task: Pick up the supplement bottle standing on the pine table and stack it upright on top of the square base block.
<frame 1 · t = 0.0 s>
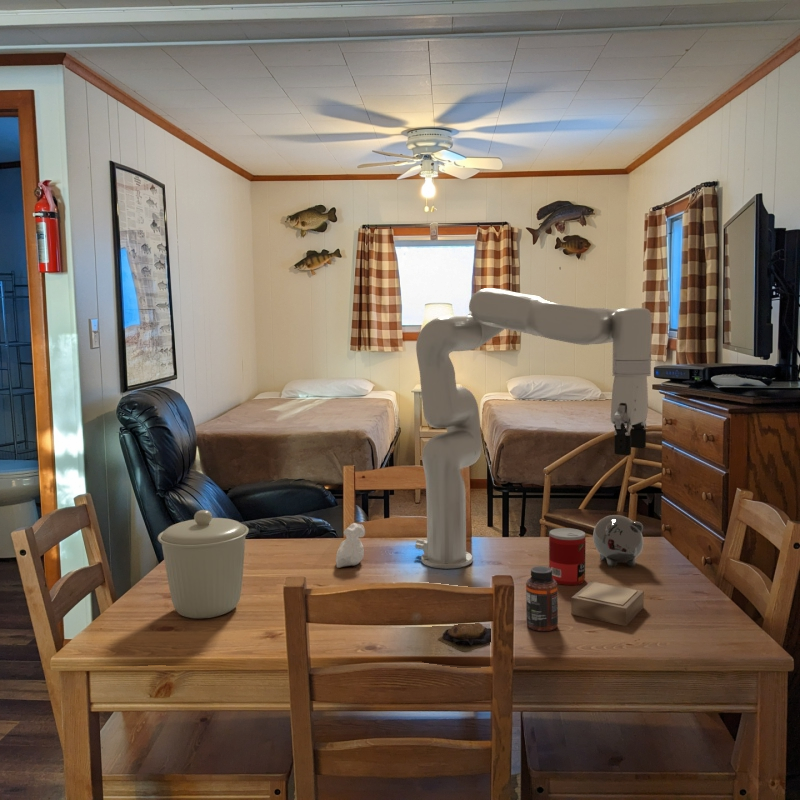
hand: (630, 451, 154), 31 cm above the table, tool pointing down, fingers open, 9 cm apart
piggy bank: (618, 564, 179), on the table
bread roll: (470, 641, 139), on the table
supplement bottle: (541, 627, 143), on the table
bust: (350, 564, 183), on the table
canister: (207, 610, 155), on the table
canned food: (567, 580, 169), on the table
base: (607, 610, 150), on the table
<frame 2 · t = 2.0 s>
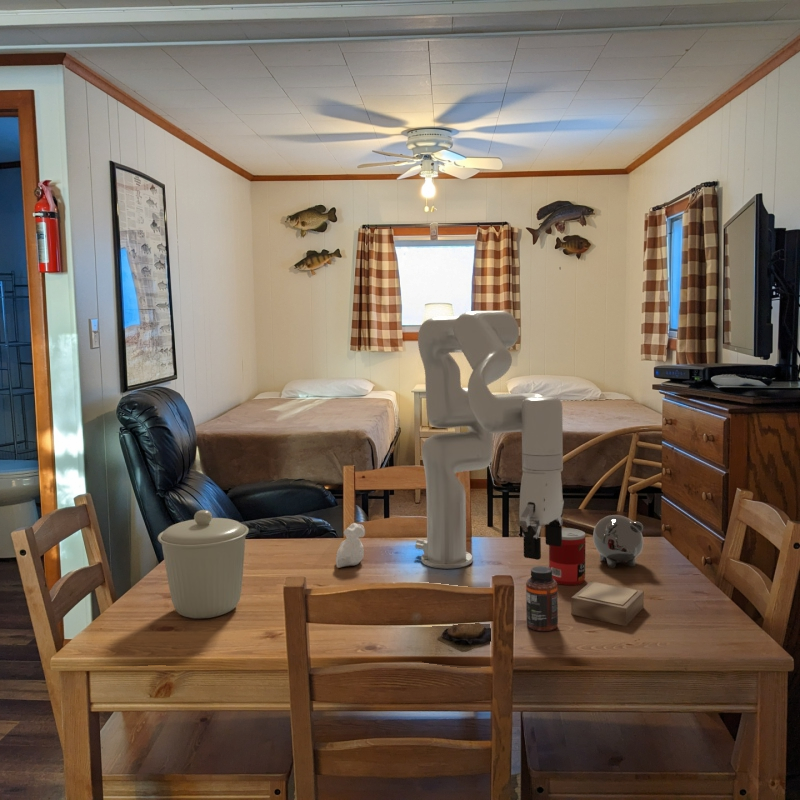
hand: (543, 551, 141), 15 cm above the table, tool pointing down, fingers open, 9 cm apart
nothing on the table moved.
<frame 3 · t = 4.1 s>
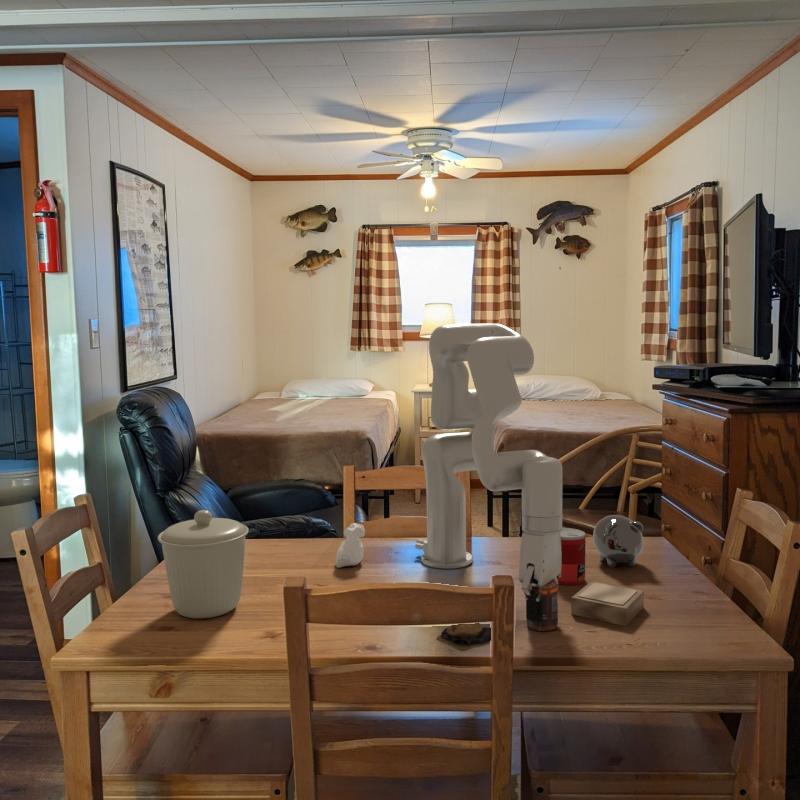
hand: (542, 613, 143), 3 cm above the table, tool pointing down, fingers closed on supplement bottle, 6 cm apart
supplement bottle: (542, 627, 143), on the table, touching gripper
everything else where it was.
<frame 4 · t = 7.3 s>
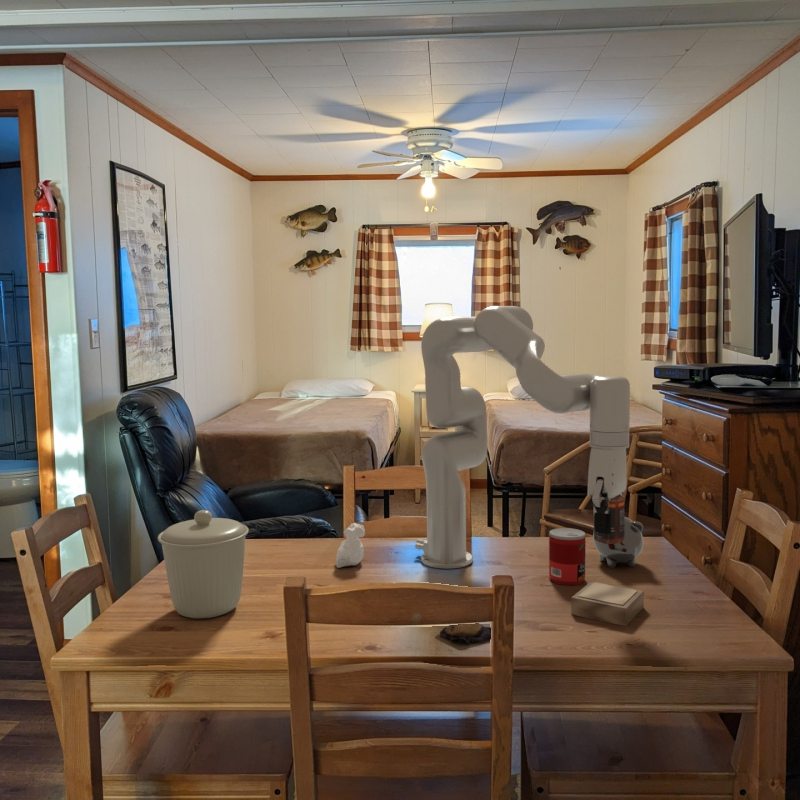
hand: (608, 527, 148), 17 cm above the table, tool pointing down, fingers closed on supplement bottle, 6 cm apart
supplement bottle: (608, 541, 149), point 14 cm above the table, touching gripper
everything else where it was.
when the fingers open (7 cm above the table, at t = 9.8 s): supplement bottle drops 1 cm, resting on base.
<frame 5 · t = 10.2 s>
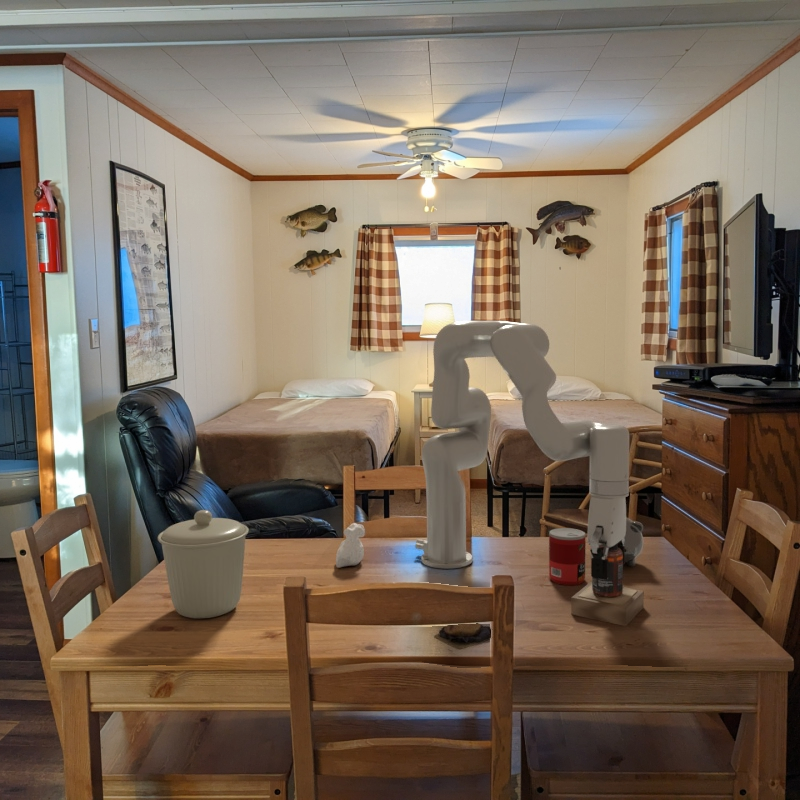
hand: (608, 571, 149), 8 cm above the table, tool pointing down, fingers open, 9 cm apart
supplement bottle: (607, 594, 150), point 4 cm above the table, touching base
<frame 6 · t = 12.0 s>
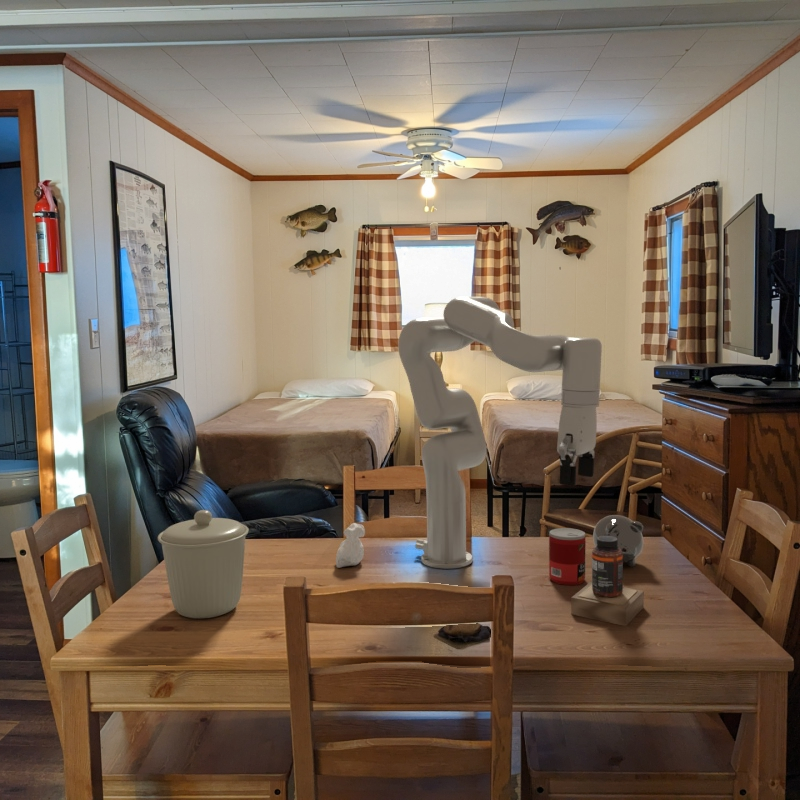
hand: (576, 480, 154), 25 cm above the table, tool pointing down, fingers open, 9 cm apart
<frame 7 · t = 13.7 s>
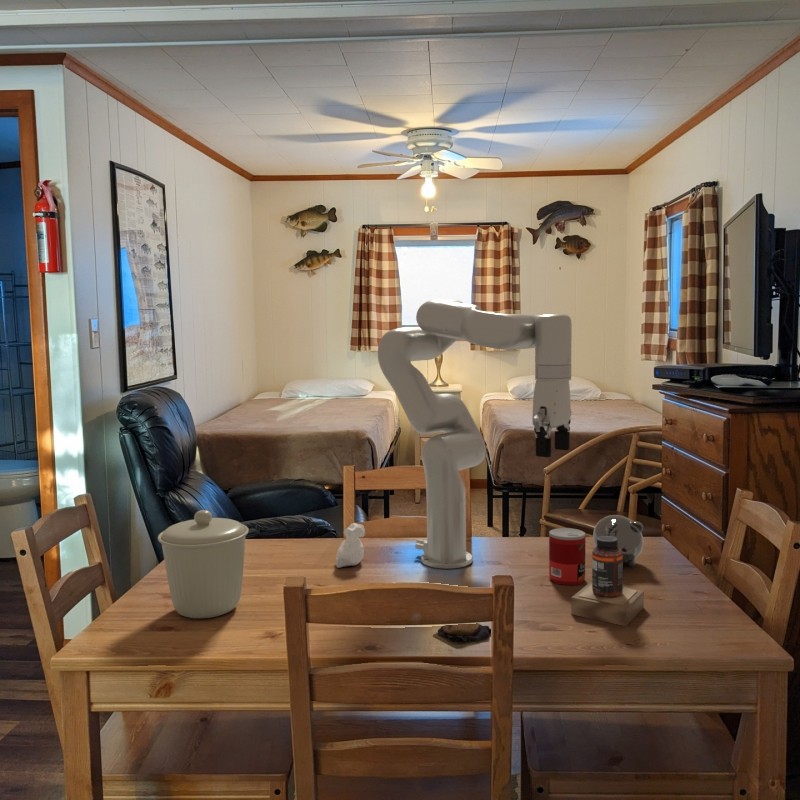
hand: (553, 453, 159), 30 cm above the table, tool pointing down, fingers open, 9 cm apart
at the end: supplement bottle inside the target area on the base (0.1 cm from its centre), point 3.5 cm above the base's base; supplement bottle tilted 0°; the gripper is holding nothing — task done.
